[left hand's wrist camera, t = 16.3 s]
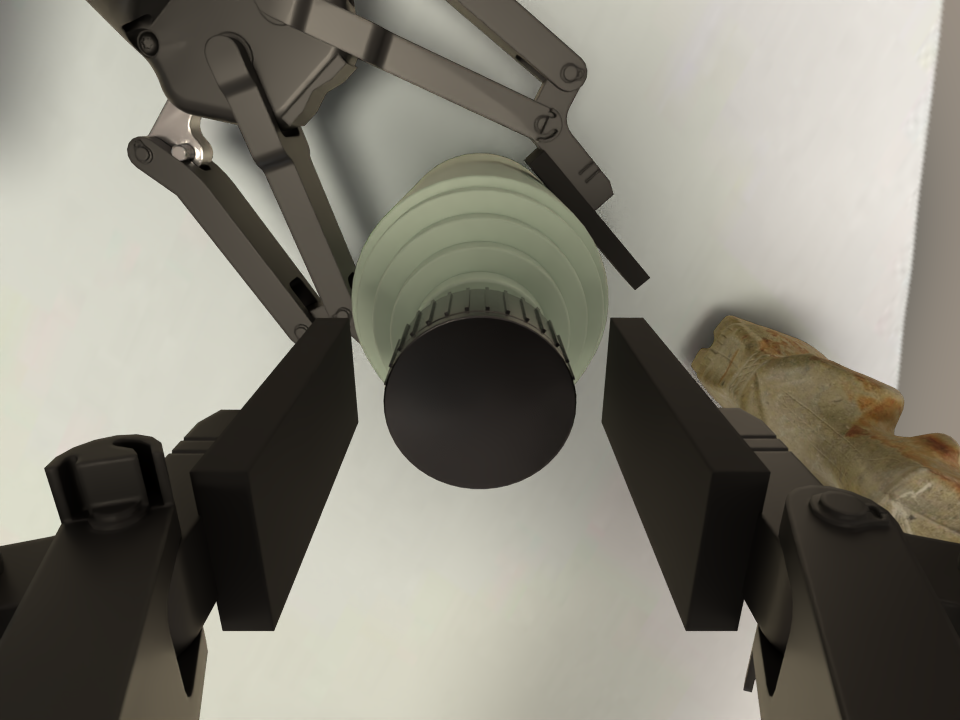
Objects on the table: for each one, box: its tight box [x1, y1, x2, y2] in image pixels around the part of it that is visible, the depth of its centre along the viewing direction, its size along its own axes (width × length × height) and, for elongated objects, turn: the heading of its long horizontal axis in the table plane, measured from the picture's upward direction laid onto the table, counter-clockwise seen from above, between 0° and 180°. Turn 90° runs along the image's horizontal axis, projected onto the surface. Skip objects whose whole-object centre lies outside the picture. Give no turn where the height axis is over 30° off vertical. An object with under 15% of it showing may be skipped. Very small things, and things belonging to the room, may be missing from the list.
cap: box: [384, 287, 576, 489], centre depth 13 cm, size 4×4×2 cm
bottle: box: [352, 153, 608, 384], centre depth 22 cm, size 8×8×19 cm
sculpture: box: [691, 315, 960, 543], centre depth 26 cm, size 6×7×15 cm
